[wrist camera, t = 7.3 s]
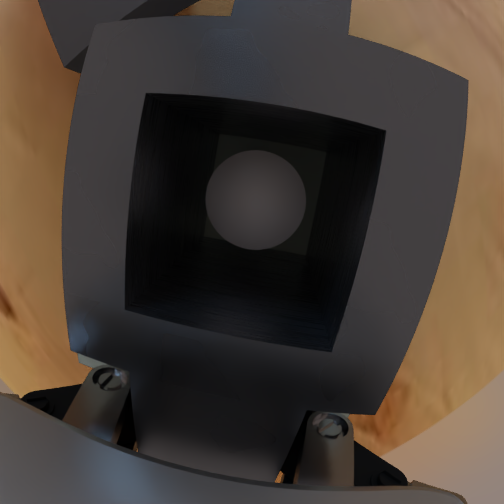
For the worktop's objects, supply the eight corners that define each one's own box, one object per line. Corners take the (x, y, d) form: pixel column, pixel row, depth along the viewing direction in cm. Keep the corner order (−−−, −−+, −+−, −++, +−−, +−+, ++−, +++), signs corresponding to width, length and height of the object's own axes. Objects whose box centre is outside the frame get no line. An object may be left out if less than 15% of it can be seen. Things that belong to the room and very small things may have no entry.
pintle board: (120, -23, 9) (55, -81, 3) (430, 11, 9) (496, -50, 3) (76, 346, 15) (12, 410, 9) (342, 406, 14) (360, 503, 8)
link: (211, -6, 8) (161, -107, 3) (382, 22, 8) (449, -68, 2) (159, 411, 13) (115, 504, 8) (286, 437, 13) (283, 541, 7)
